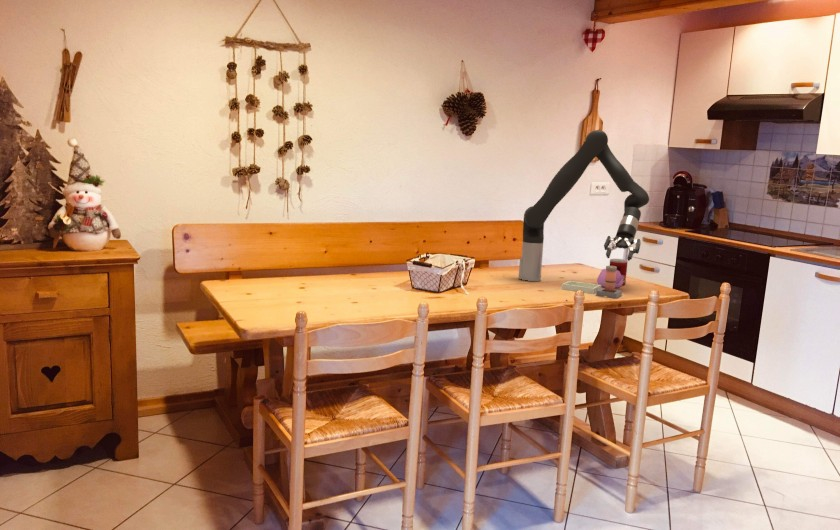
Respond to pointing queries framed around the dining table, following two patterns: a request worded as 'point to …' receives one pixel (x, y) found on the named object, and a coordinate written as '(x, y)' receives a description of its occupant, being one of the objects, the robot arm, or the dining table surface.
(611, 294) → the socket block
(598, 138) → the robot arm
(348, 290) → the dining table surface
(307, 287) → the dining table surface
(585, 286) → the parts tray
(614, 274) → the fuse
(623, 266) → the canned food
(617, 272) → the teapot
